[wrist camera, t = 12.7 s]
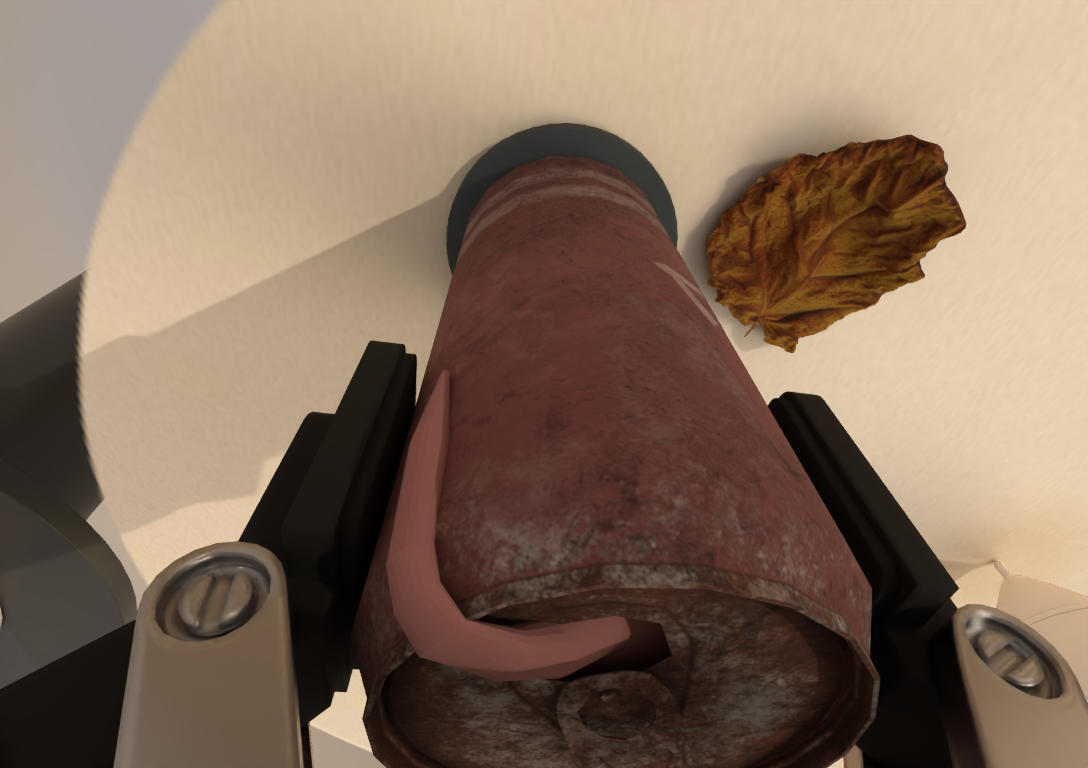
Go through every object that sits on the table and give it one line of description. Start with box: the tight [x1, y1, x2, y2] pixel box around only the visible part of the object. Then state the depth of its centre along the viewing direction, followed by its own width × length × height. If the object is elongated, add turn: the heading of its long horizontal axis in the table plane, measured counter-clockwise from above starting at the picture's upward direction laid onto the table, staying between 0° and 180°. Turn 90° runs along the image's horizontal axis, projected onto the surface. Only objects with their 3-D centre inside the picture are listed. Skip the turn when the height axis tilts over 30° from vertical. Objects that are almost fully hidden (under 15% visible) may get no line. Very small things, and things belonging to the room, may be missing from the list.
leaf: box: [706, 135, 966, 353], centre depth 17 cm, size 6×7×2 cm
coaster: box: [447, 123, 678, 276], centre depth 18 cm, size 7×7×1 cm
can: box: [350, 156, 880, 768], centre depth 12 cm, size 6×6×14 cm
